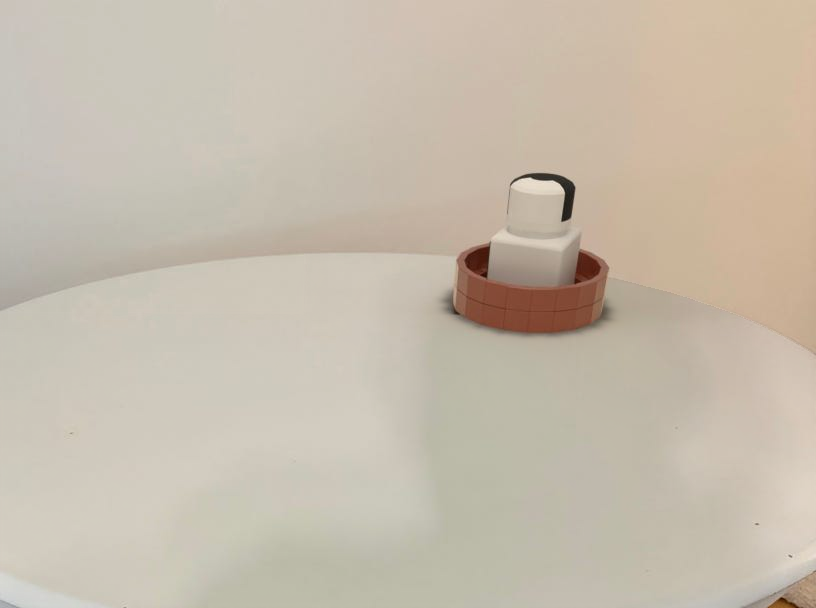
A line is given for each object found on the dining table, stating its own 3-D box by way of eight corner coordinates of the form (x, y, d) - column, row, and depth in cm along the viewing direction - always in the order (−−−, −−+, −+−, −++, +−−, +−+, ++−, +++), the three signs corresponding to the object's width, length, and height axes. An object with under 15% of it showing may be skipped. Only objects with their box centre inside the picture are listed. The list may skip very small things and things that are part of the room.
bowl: (583, 289, 105) (590, 240, 102) (614, 342, 93) (624, 289, 90) (446, 289, 105) (449, 240, 102) (461, 342, 93) (465, 289, 90)
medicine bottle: (504, 289, 102) (518, 164, 95) (572, 300, 100) (591, 173, 92) (482, 312, 97) (494, 181, 90) (552, 324, 95) (571, 191, 87)
